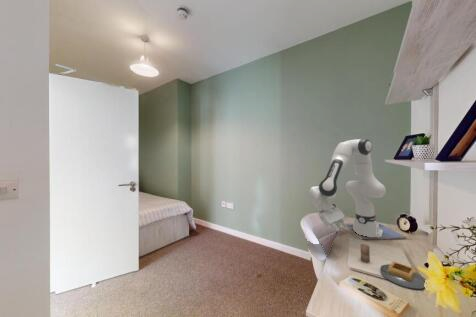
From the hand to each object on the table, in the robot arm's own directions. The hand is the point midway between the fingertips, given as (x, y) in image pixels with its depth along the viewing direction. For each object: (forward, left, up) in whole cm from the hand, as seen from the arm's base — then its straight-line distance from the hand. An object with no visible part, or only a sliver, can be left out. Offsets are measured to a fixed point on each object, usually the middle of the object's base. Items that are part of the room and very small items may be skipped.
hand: (342, 228), depth 110 cm
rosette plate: (+3, +28, -14) cm, 31 cm away
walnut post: (0, +12, -14) cm, 18 cm away
